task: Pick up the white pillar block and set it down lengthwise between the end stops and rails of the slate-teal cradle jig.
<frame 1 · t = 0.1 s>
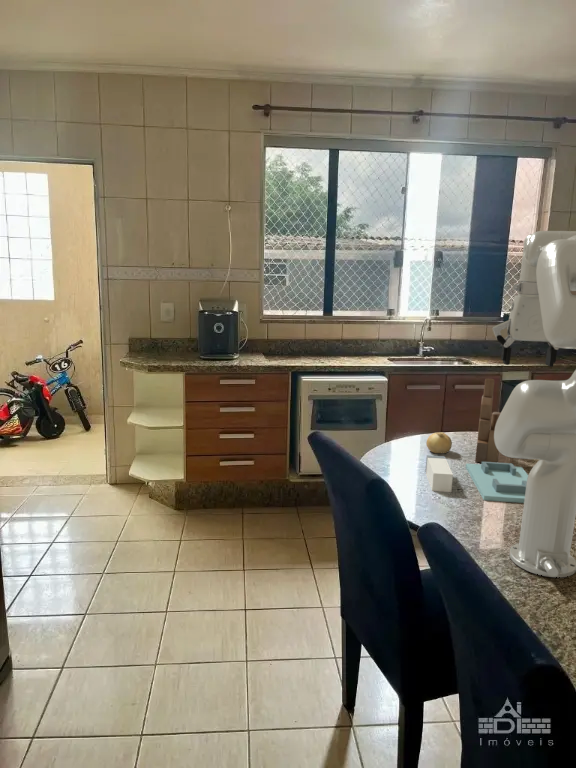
hand: (527, 364, 131), 37 cm above the table, tool pointing down, fingers open, 9 cm apart
cradle: (503, 484, 156), on the table
onion: (438, 452, 182), on the table
white pillar block: (437, 481, 157), on the table
wooden toy: (487, 456, 179), on the table
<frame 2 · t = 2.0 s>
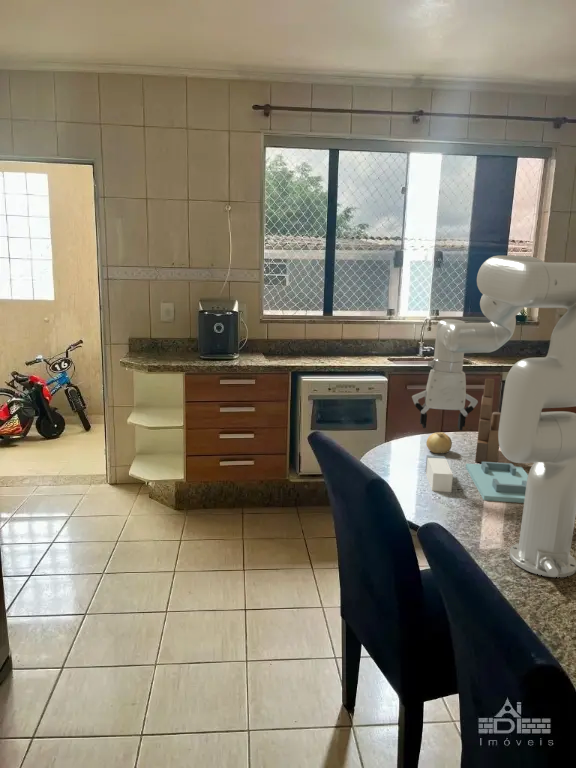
hand: (441, 427, 154), 15 cm above the table, tool pointing down, fingers open, 9 cm apart
nothing on the table moved.
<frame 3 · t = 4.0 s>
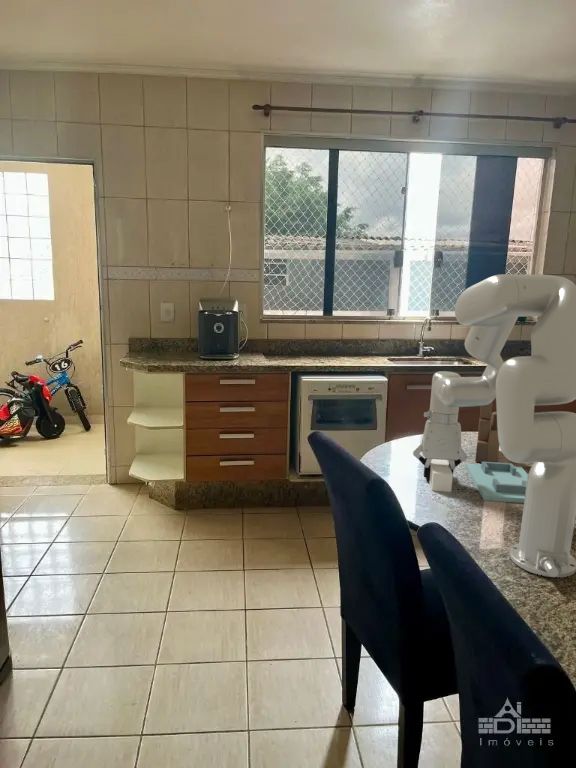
hand: (437, 479, 157), 0 cm above the table, tool pointing down, fingers closed on white pillar block, 5 cm apart
white pillar block: (437, 481, 157), on the table, touching gripper
everything else where it was.
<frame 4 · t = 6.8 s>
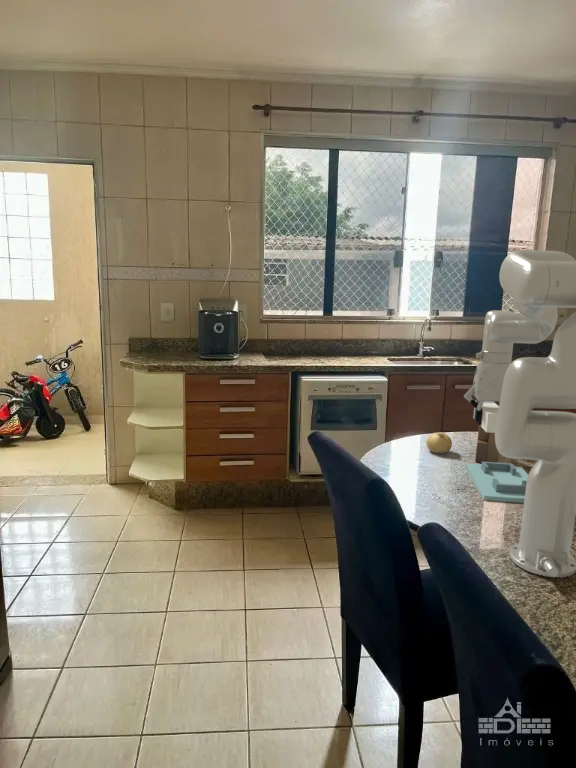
hand: (489, 423, 153), 17 cm above the table, tool pointing down, fingers closed on white pillar block, 5 cm apart
white pillar block: (488, 425, 153), point 17 cm above the table, touching gripper
everything else where it was.
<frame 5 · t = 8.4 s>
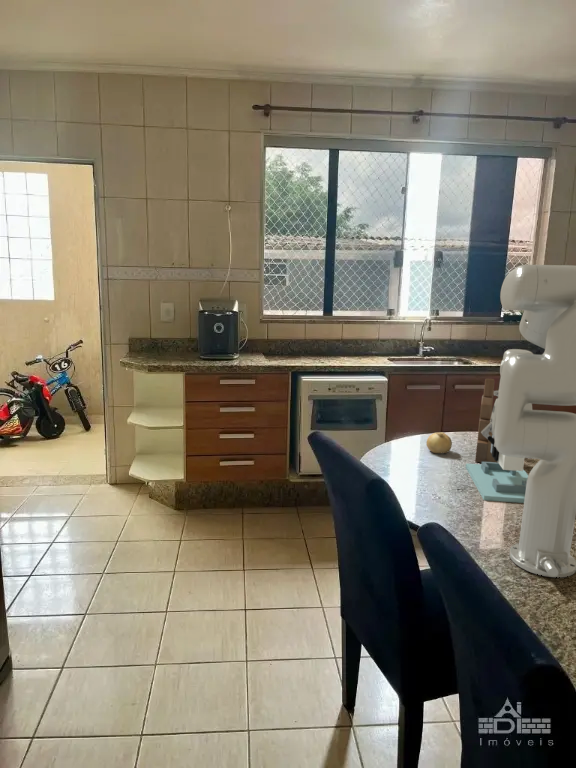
hand: (506, 459, 155), 7 cm above the table, tool pointing down, fingers closed on white pillar block, 5 cm apart
white pillar block: (506, 461, 155), point 7 cm above the table, touching gripper
everything else where it was.
when the fingers open (3 cm above the table, at t = 9.6 s): white pillar block drops 1 cm, resting on cradle.
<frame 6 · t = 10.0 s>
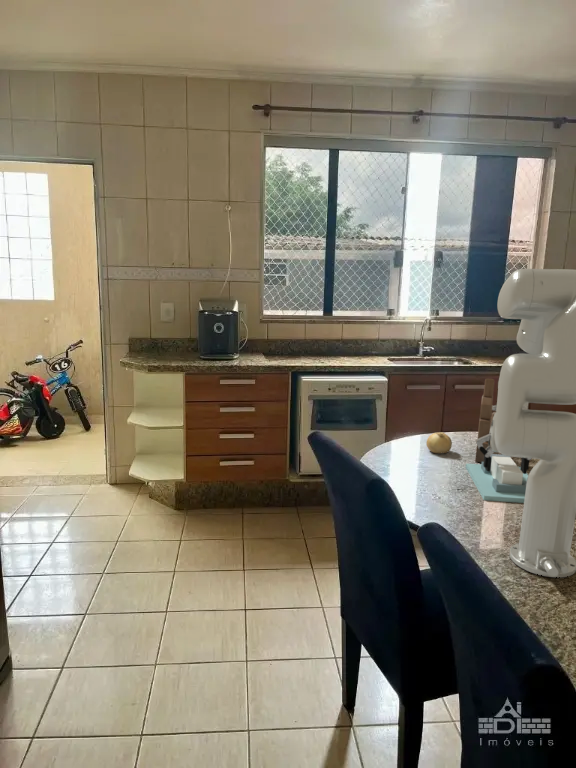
hand: (505, 470, 155), 4 cm above the table, tool pointing down, fingers open, 9 cm apart
white pillar block: (504, 480, 156), point 1 cm above the table, touching cradle
everything else where it was.
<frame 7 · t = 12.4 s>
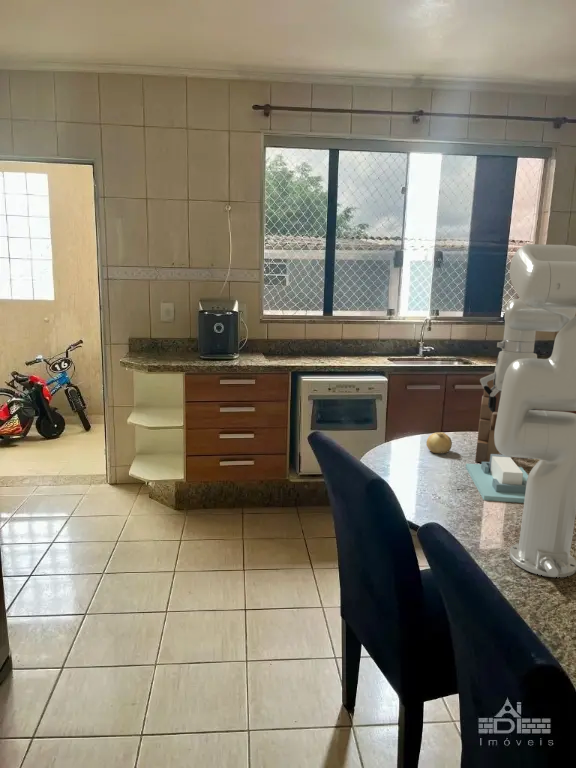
hand: (511, 411, 149), 21 cm above the table, tool pointing down, fingers open, 9 cm apart
nothing on the table moved.
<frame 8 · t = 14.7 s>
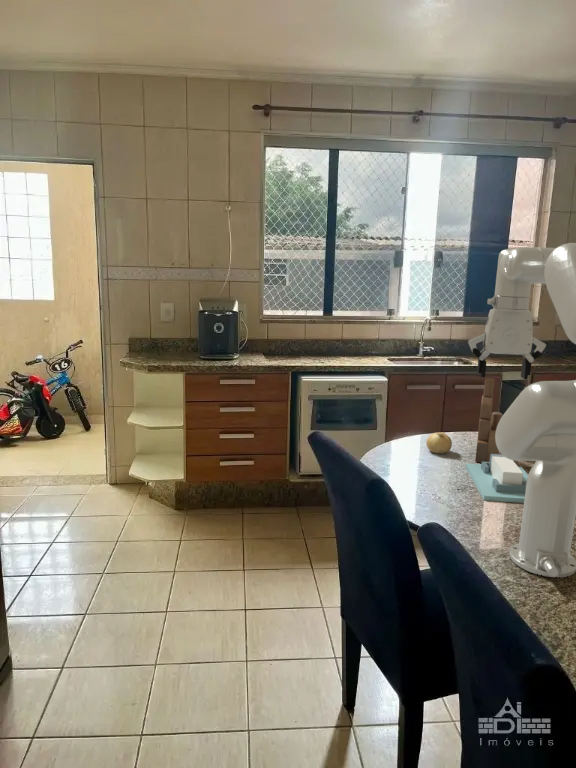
hand: (502, 377, 133), 33 cm above the table, tool pointing down, fingers open, 9 cm apart
nothing on the table moved.
at the end: white pillar block 0.1 cm off-centre on the cradle, point 1.2 cm above the cradle's base; white pillar block tilted 0°; the gripper is holding nothing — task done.
